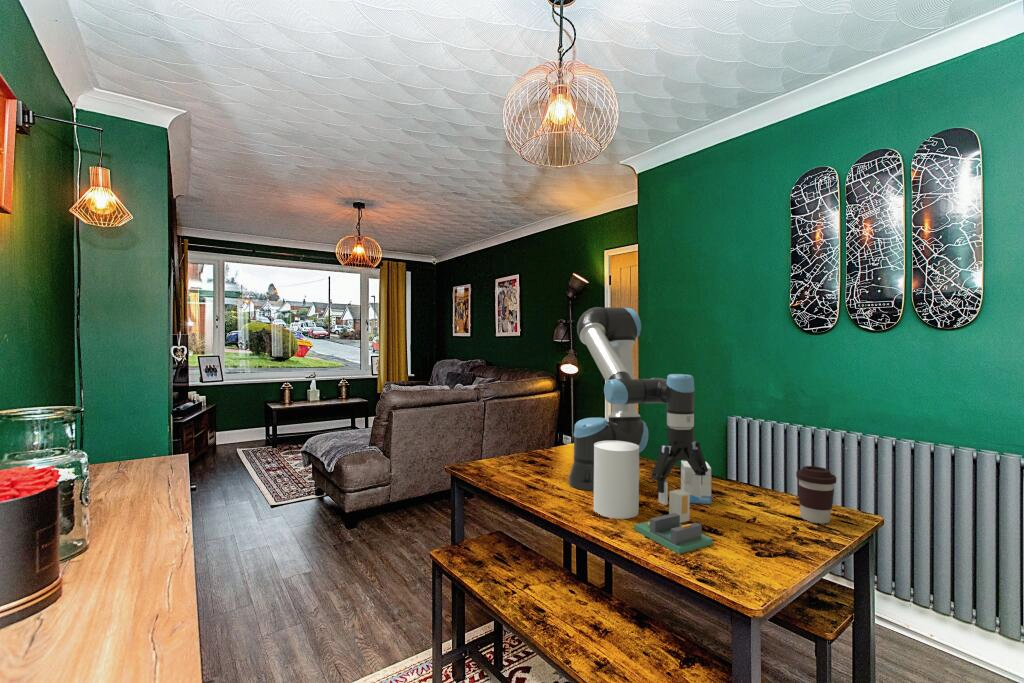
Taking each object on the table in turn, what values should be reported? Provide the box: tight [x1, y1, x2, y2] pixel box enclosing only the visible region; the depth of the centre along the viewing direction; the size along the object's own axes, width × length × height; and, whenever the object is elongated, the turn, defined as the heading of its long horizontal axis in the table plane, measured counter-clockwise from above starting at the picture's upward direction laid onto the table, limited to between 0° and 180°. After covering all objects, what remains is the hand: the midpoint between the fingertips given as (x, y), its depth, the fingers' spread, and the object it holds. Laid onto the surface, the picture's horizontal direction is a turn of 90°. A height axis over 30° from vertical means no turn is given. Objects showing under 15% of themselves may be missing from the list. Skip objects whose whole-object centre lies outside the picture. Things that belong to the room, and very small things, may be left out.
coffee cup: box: [795, 465, 837, 525], centre depth 140 cm, size 10×10×15 cm
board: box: [634, 513, 714, 555], centre depth 127 cm, size 16×12×5 cm
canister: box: [593, 441, 640, 520], centre depth 146 cm, size 14×14×20 cm
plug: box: [668, 488, 691, 524], centre depth 139 cm, size 4×4×8 cm
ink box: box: [680, 459, 712, 505], centre depth 156 cm, size 9×8×13 cm
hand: (680, 500), depth 139 cm, fingers open, 13 cm apart
